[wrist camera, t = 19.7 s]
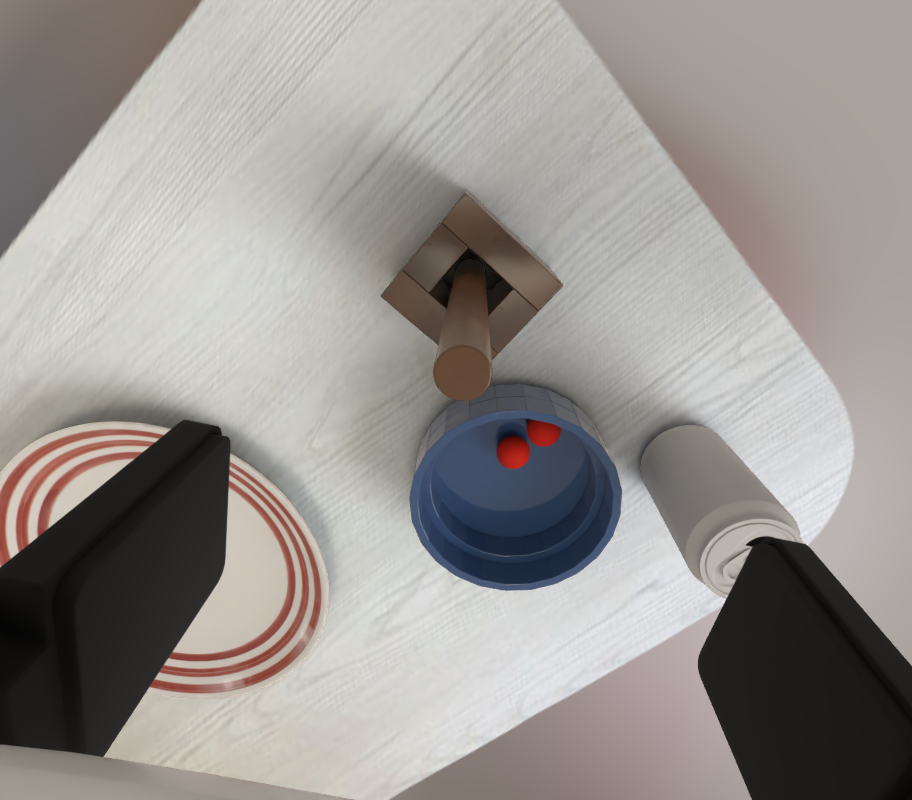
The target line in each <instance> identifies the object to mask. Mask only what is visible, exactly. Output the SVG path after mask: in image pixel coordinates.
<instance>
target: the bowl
mask: <svg viewBox="0 0 912 800" xmlns="http://www.w3.org/2000/svg"><path fill="white" fill-rule="evenodd" d="M530 419H532V420H537V421H542V422H547V423H552V424H554V425H556V426H558V427H561V434H560V437H559V438H558V440H557V441H556V442H555V443H554V444H552V445H550V446H546V447H541V446H538V445H535V444H534V443H532V442H531V440H530V439H529V438H528V435H527V431H526V428H527V424H528V421H529V420H530ZM507 436H519V437H521V438H523V439H524V440H525V441H526V442H527V443H528V445H529V448H530V457H529V459H528V461H527V463H526V464H525V465H524V466H522V467H520V468H518V469H509V468H506V467H505V466H503V465H502V464H501V463H500V462H499V460H498V458H497V452H496V451H497V446H498V444H499V443H500V441H501V440H502V439H504V438H505V437H507ZM621 500H622V489H621V485H620V481H619V477H618V474H617V470H616V467H615V465H614V463H613V460H612V458H611V456H610V454H609V452H608V450H607V448H606V445H605V443H604V441H603V439H602V437H601V435H600V433H599V432H598V430H597V429H596V427H595V426H594V424H593V422H592V421H591V419H590V418H589V417H588V415H587V414H585V413H584V412H583V411H582V410H581V409H580V408H579V407H577V406H576V405H575V404H574V403H573V402H572V401H570V400H569V399H567V398H564V397H562V396H560V395H558V394H556V393H554V392H552V391H550V390H547V389H544V388H539V387H534V386H529V385H524V384H522V385H521V384H511V385H495V386H491V387H488V388H487V390H486V391H485V392H484V393H483V394H482V395H480V396H479V397H477V398H474V399H471V400H466V401H460V400H457V401H455V402H454V403H452V404H451V405H449V406H448V407H447V408H446V409H445V410H444V411H443V412H442V413H441V414H440V415H439V416H438V417H437V418H436V419H435V420H434V421H433V422H432V424H431V425H430V427H429V429H428V431H427V433H426V435H425V436H424V438H423V440H422V442H421V445H420V449H419V454H418V458H417V463H416V468H415V472H414V477H413V482H412V488H411V493H410V508H411V517H412V523H413V525H414V527H415V530H416V532H417V534H418V537H419V539H420V541H421V543H422V545H423V546H424V547H425V548H426V550H427V551H428V552H429V553H430V555H431V556H432V557H433V558H434V559H435V561H436V562H438V563H439V564H440V565H442V566H443V567H444V568H446V569H447V570H448V571H450V572H451V573H453V574H454V575H455V576H457V577H459V578H462V579H464V580H466V581H469V582H471V583H474V584H476V585H478V586H479V585H480V586H482V587H488V588H493V589H499V590H505V591H508V590H530V589H531V590H532V589H536V588H541V587H545V586H549V585H553V584H556V583H559V582H561V581H563V580H565V579H567V578H569V577H571V576H573V575H575V574H577V573H578V572H580V571H581V570H582V569H584V568H585V567H586V566H587V565H589V564H590V563H591V562H592V561H593V560H595V559H596V558H597V556H599V555H600V553H601V552H602V550H603V549H604V548H605V546H606V545H607V544H608V542H609V541H610V540H611V538H612V536H613V534H614V531H615V528H616V526H617V523H618V520H619V518H620V514H621Z"/></svg>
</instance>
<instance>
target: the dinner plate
mask: <svg viewBox="0 0 912 800" xmlns="http://www.w3.org/2000/svg"><path fill="white" fill-rule="evenodd" d="M170 430H171V429H170V428H166V427H161V426H156V425H151V424H145V423H137V422H123V421H107V422H95V423H87V424H81V425H76V426H71V427H68V428H64V429H61V430H57V431H55V432H53V433H50V434H48V435H45V436H43V437H41V438H39V439H37V440H36V441H34V442H32V443H31V444H29V445H28V446H26V447H25V448H23V449H22V450H21V451H20V452H19V453H18V454H17V455H15V456H14V457H13V458H12V459H11V460H10V461H9V462H8V464H7V465H6V466H5V467H4V469H3V470H2V471H1V473H0V567H1V566H3V565H4V564H5V563H6V562H7V561H9V560H10V559H11V558H12V557H14V556H15V555H16V554H17V553H19V552H20V551H21V550H22V549H24V548H25V547H26V546H27V545H29V544H30V543H31V542H32V541H33V540H35V539H36V538H37V537H38V536H40V535H41V534H42V533H43V532H45V531H46V530H47V529H48V528H50V527H51V526H52V525H53V524H55V523H56V522H57V521H58V520H59V519H61V518H62V517H63V516H64V515H66V514H67V513H68V512H69V511H71V510H72V509H73V508H74V507H76V506H77V505H78V504H79V503H80V502H82V501H83V500H84V499H85V498H87V497H88V496H89V495H90V494H92V493H93V492H94V491H95V490H97V489H98V488H99V487H100V486H102V485H103V484H104V483H105V482H106V481H108V480H109V479H110V478H111V477H113V476H114V475H115V474H116V473H118V472H119V471H120V470H121V469H123V468H124V467H125V466H126V465H128V464H129V463H130V462H131V461H132V460H134V459H135V458H136V457H137V456H139V455H140V454H141V453H142V452H144V451H145V450H146V449H147V448H149V447H150V446H151V445H152V444H153V443H155V442H156V441H157V440H158V439H160V438H161V437H162V436H163V435H165V434H166V433H167V432H168V431H170ZM329 602H330V592H329V580H328V574H327V569H326V566H325V562H324V559H323V556H322V553H321V551H320V548H319V546H318V544H317V542H316V540H315V537H314V535H313V533H312V532H311V530H310V528H309V527H308V525H307V523H306V522H305V520H304V518H303V517H302V516H301V514H300V513H299V512H298V510H297V509H296V508H295V506H294V505H293V504H292V503H291V501H290V500H289V499H288V498H287V497H286V496H285V495H284V494H283V493H282V492H281V491H280V490H279V489H278V488H277V487H276V486H275V485H274V484H273V483H272V482H271V481H270V480H269V479H267V478H266V477H265V476H264V475H262V474H261V473H260V472H259V471H257V470H256V469H255V468H253V467H252V466H251V465H249V464H248V463H246V462H245V461H243V460H241V459H240V458H238V457H237V456H235V455H234V454H232V453H230V470H229V492H228V515H227V537H226V559H225V566H224V570H223V573H222V576H221V578H220V580H219V582H218V584H217V585H216V587H215V588H214V590H213V591H212V593H211V594H210V596H209V597H208V599H207V600H206V602H205V603H204V605H203V606H202V608H201V609H200V611H199V612H198V614H197V616H196V617H195V619H194V620H193V622H192V623H191V625H190V626H189V628H188V629H187V631H186V632H185V634H184V635H183V637H182V638H181V640H180V641H179V643H178V644H177V646H176V647H175V649H174V650H173V652H172V653H171V655H170V657H169V658H168V660H167V661H166V663H165V664H164V666H163V667H162V669H161V670H160V672H159V673H158V675H157V676H156V678H155V679H154V681H153V682H152V684H151V685H150V687H149V688H148V690H147V691H146V692H148V693H152V694H156V695H162V696H168V697H174V698H183V699H220V698H228V697H234V696H239V695H243V694H247V693H250V692H254V691H256V690H259V689H262V688H265V687H267V686H269V685H271V684H273V683H275V682H277V681H279V680H281V679H282V678H284V677H285V676H287V675H289V674H290V673H291V672H292V671H294V670H295V669H296V668H297V667H298V666H299V665H300V664H301V663H302V662H303V661H304V660H305V659H306V658H307V657H308V656H309V655H310V653H311V652H312V650H313V649H314V647H315V646H316V644H317V642H318V641H319V639H320V637H321V634H322V632H323V630H324V627H325V624H326V620H327V616H328V610H329Z"/></svg>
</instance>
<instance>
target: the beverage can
mask: <svg viewBox="0 0 912 800" xmlns="http://www.w3.org/2000/svg"><path fill="white" fill-rule="evenodd" d="M640 468H641V476H642V479H643V481H644V484H645V485H646V487H647V489H648V491H649V493H650V495H651V497H652V499H653V501H654V503H655V505H656V506H657V508H658V510H659V512H660V514H661V516H662V518H663V520H664V522H665V524H666V525H667V527H668V529H669V531H670V533H671V535H672V537H673V539H674V541H675V543H676V545H677V546H678V548H679V550H680V552H681V554H682V556H683V558H684V560H685V562H686V564H687V566H688V567H689V569H690V571H691V572H692V574H693V575H694V576H695V577H696V578H697V579H698V580H699V581H701V582H702V583H704V584H705V585H706V586H707V587H708V588H709V589H710V590H711V591H712V592H714V593H715V594H717V595H719V596H721V597H723V598H726V599H727V597H728V595H729V593H730V591H731V589H732V587H733V585H734V583H735V581H736V579H737V577H738V575H739V573H740V571H741V569H742V567H743V565H744V563H745V561H746V558H747V556H748V554H749V552H750V550H751V549H752V547H753V546H754V545H755V544H758V543H762V542H763V541H764V540H765V539H767V538H770V537H774V538H779V539H784V540H789V541H793V542H798V543H803V541H802V539H801V537H800V531H799V528H798V525H797V523H796V521H795V520H794V518H793V517H792V516H791V515H790V513H789V512H788V511H787V510H786V509H785V508H784V507H783V506H782V505H781V503H780V502H779V501H778V500H777V499H776V498H775V497H774V496H773V495H772V493H771V492H770V491H769V490H768V489H767V488H766V487H765V486H764V485H763V483H762V482H761V481H760V480H759V479H758V478H757V477H756V476H755V475H754V473H753V472H752V471H751V470H750V469H749V468H748V467H747V466H746V465H745V464H744V462H743V461H742V460H741V459H740V458H739V457H738V456H737V455H736V454H735V452H734V451H733V450H732V449H731V448H730V447H729V446H728V445H727V444H726V442H725V441H724V440H723V439H722V438H721V437H720V436H719V435H718V434H717V433H715V432H714V431H712V430H710V429H708V428H705V427H702V426H698V425H682V426H677V427H674V428H671V429H668V430H666V431H664V432H663V433H661V434H659V435H658V436H657V437H656V438H655V439H653V440H652V441H651V443H650V444H649V445H648V446H647V448H646V450H645V451H644V454H643V456H642V460H641V467H640Z"/></svg>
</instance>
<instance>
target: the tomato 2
mask: <svg viewBox="0 0 912 800" xmlns="http://www.w3.org/2000/svg"><path fill="white" fill-rule="evenodd" d="M526 431H527V435H528V438H529V439H530V440H531V442H532V443H534V444H535V445H538V446H541V447H546V446H550V445H552V444H554V443H555V442H556V441H557V440H558V438H559V437H560V434H561V427H558V426H556V425H554V424H552V423H547V422H542V421H537V420H532V419H530V420H529V421H528V424H527V428H526Z"/></svg>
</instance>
